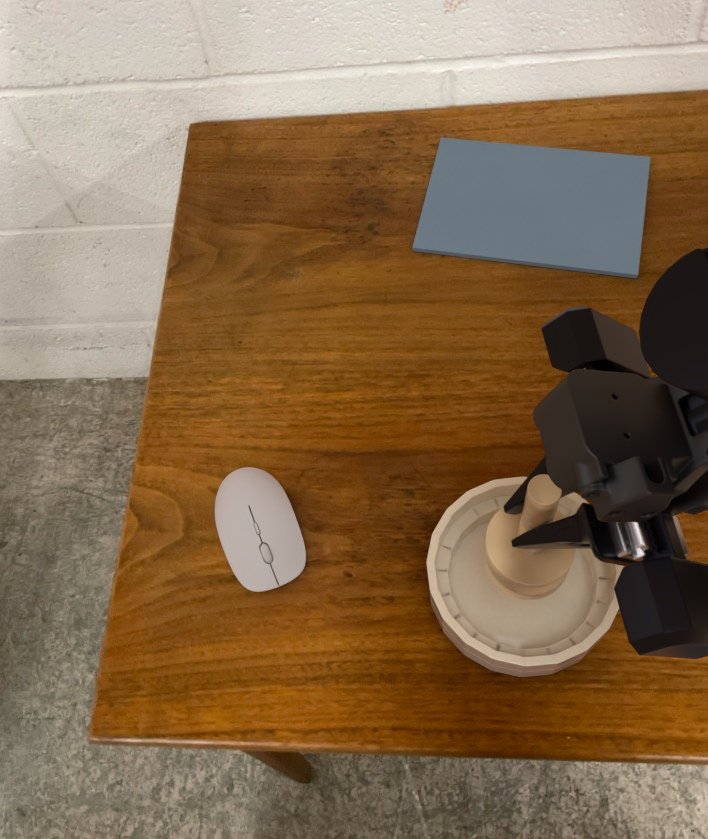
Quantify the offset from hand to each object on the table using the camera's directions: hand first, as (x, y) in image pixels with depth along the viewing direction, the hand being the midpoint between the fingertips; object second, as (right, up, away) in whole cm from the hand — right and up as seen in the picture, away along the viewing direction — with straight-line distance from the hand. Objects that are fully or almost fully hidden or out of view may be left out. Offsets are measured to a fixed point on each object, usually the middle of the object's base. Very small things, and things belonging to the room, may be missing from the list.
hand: (512, 527), depth 47 cm
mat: (+7, +26, +27) cm, 39 cm away
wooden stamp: (+2, -3, +6) cm, 7 cm away
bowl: (+3, -6, +11) cm, 13 cm away
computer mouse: (-17, -3, +15) cm, 23 cm away
